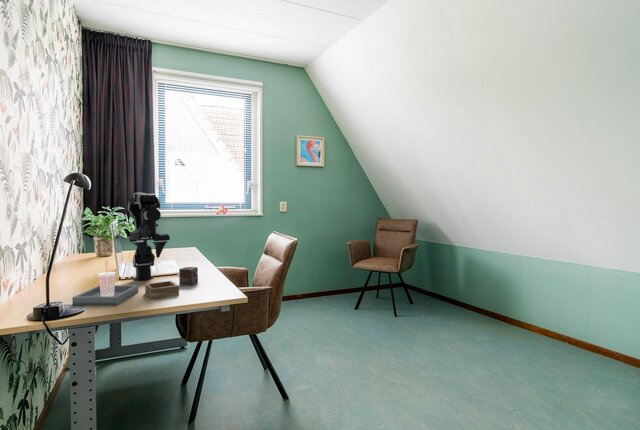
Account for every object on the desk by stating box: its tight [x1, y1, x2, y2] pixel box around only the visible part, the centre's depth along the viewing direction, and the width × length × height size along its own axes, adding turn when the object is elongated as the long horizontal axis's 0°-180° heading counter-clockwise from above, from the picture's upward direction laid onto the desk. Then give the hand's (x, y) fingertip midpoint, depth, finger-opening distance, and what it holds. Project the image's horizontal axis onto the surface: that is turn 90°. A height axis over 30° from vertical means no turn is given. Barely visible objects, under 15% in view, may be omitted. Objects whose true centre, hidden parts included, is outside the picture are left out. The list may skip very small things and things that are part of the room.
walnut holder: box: [144, 280, 180, 300], centre depth 157 cm, size 10×10×4 cm
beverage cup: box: [97, 259, 117, 297], centre depth 151 cm, size 6×6×14 cm
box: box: [178, 266, 199, 287], centre depth 175 cm, size 6×6×7 cm
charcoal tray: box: [72, 284, 139, 306], centre depth 151 cm, size 18×16×3 cm
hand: (150, 257), depth 170 cm, fingers open, 9 cm apart
